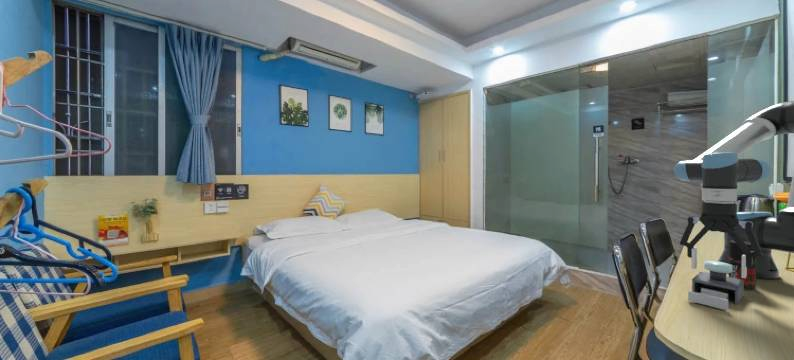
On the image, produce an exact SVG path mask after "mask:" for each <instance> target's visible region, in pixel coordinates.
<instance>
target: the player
mask: <svg viewBox="0 0 794 360" xmlns="http://www.w3.org/2000/svg"><path fill="white" fill-rule="evenodd" d="M701 288H706V289H711V290H715V291H720V292H725V293H728V294H729V293H730V294H734V304H735V305H739V303H740V301H741V300H742V299H743V297H744V295H745V293H744V292H745V290H744V280H741V279H736V278H731V277H729V276H727V273H719V272H714V271H710V270H709V272H704V271H699V273H697V274H696V275H694V277H693V278H692V279H691V291H692V292H697V293H698V291H699V290H701Z"/></svg>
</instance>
